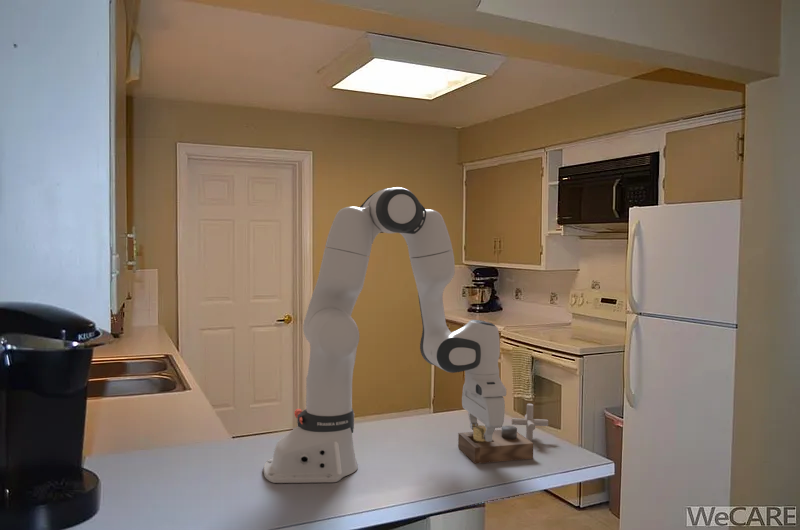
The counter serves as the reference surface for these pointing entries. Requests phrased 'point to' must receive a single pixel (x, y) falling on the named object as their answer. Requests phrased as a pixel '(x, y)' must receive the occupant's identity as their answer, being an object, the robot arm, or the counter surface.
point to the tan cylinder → (478, 434)
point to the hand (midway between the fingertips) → (480, 434)
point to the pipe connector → (529, 422)
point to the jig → (497, 446)
